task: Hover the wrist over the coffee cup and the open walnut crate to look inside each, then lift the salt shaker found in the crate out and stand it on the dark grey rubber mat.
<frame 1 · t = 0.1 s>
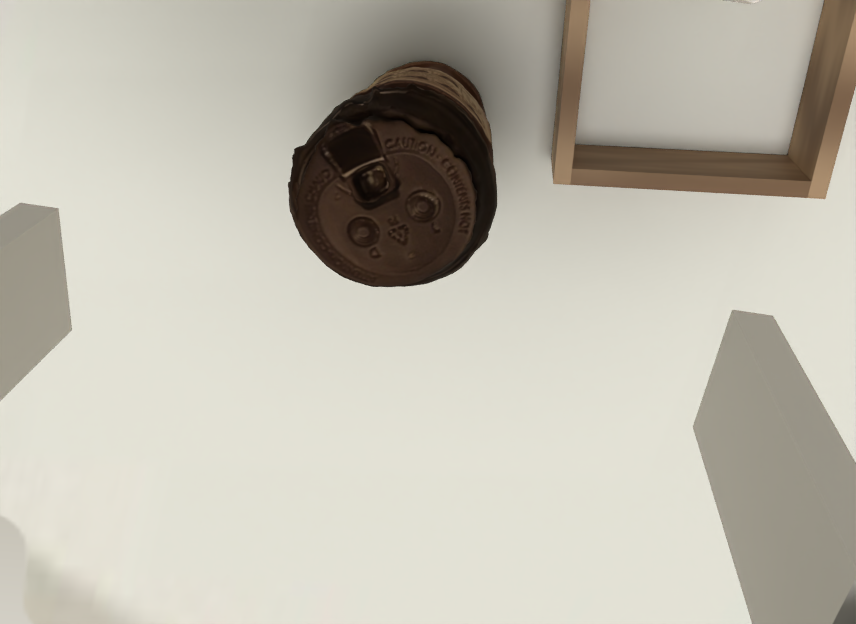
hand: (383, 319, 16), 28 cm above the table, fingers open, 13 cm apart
coffee cup: (425, 116, 42), on the table
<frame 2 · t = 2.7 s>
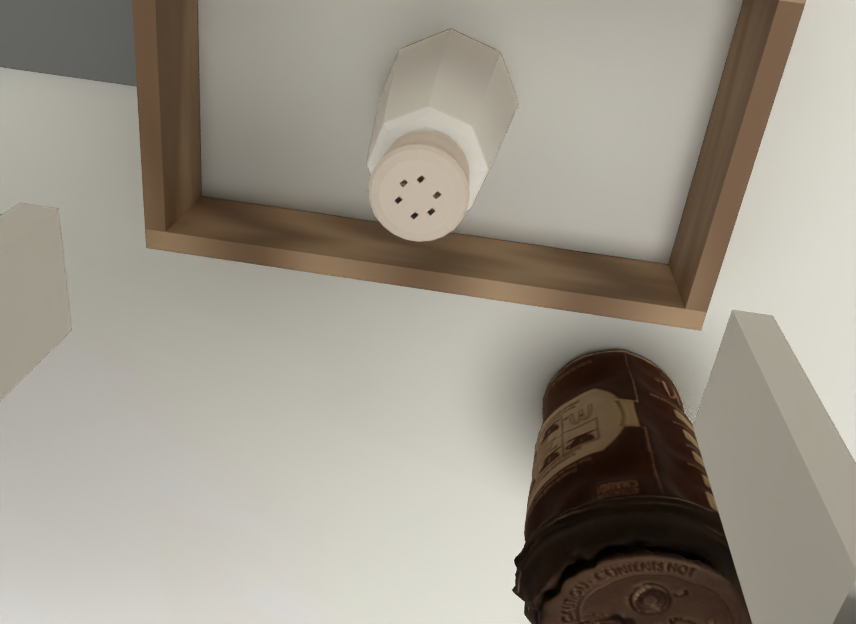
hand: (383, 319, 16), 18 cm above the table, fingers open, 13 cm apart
salt shaker: (449, 99, 32), resting in crate
coffee cup: (605, 404, 38), on the table
crate: (448, 100, 32), on the table
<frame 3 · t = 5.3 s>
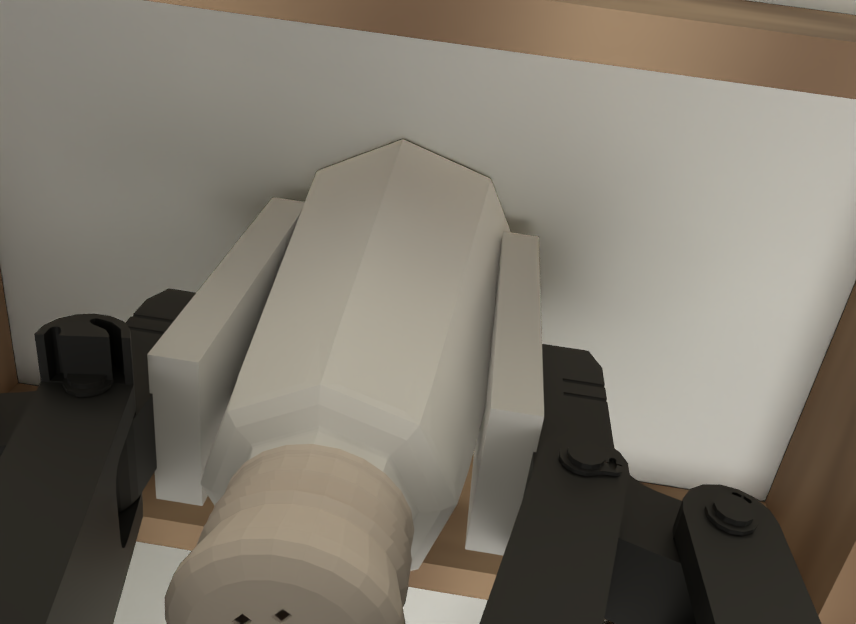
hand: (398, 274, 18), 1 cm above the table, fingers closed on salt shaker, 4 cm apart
salt shaker: (405, 248, 19), resting in crate, touching gripper
crate: (405, 252, 19), on the table
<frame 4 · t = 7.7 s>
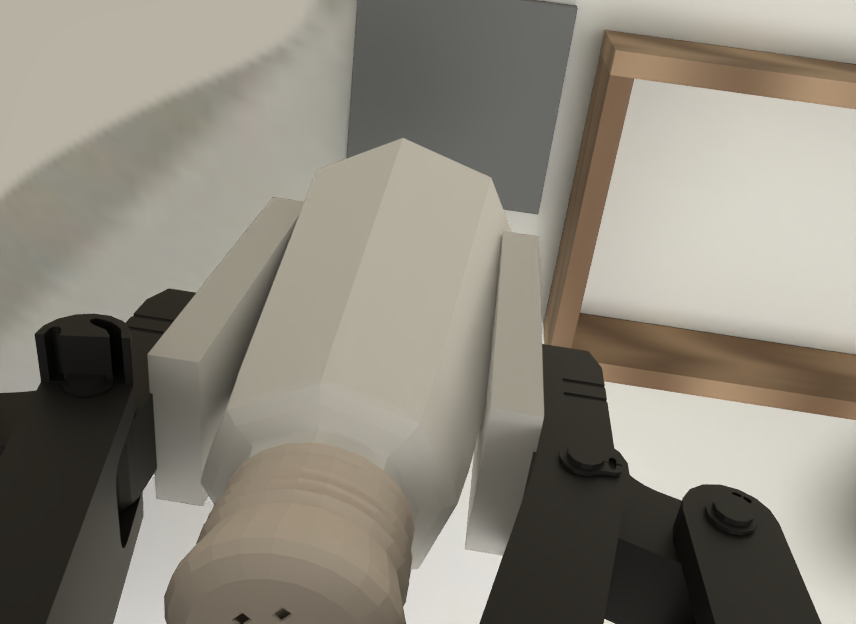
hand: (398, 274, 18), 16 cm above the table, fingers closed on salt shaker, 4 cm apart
salt shaker: (405, 247, 19), point 15 cm above the table, touching gripper
crate: (838, 229, 33), on the table
mat: (454, 99, 32), on the table
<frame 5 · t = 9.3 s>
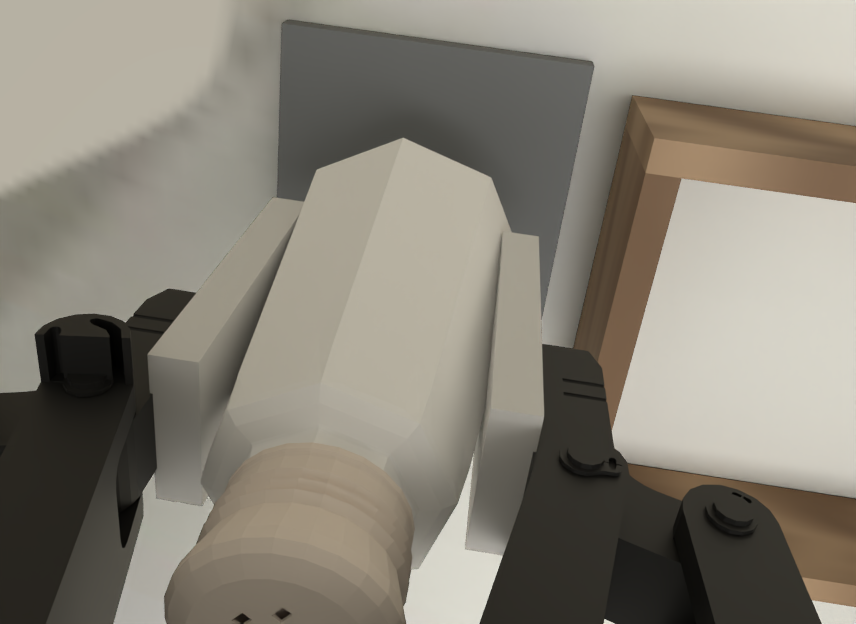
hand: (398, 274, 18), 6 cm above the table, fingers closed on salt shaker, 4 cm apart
salt shaker: (405, 247, 19), point 5 cm above the table, touching gripper
mat: (422, 186, 23), on the table
when the fingers open (3 cm above the table, at t = 10.5 s): salt shaker drops 1 cm, resting on mat.
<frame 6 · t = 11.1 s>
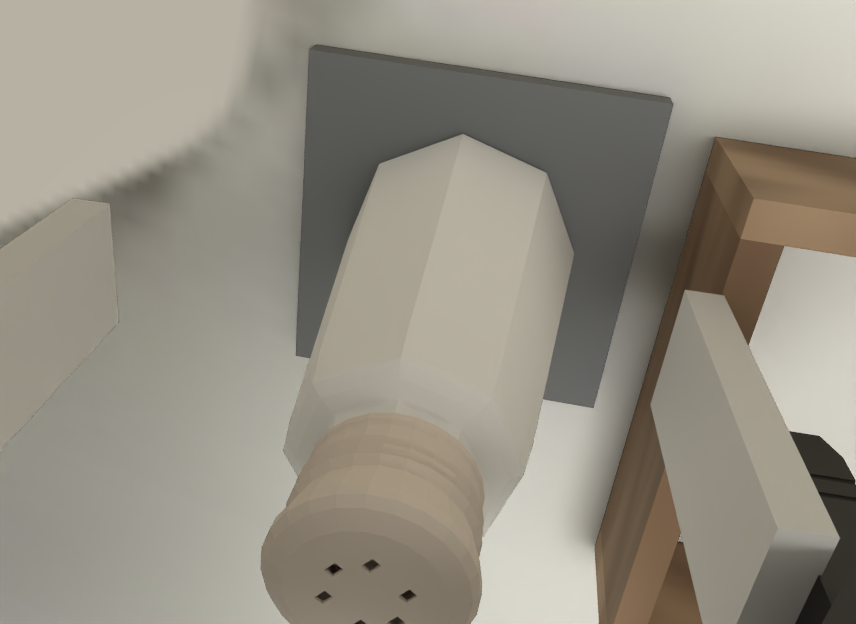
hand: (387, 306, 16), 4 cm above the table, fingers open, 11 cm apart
salt shaker: (461, 239, 20), resting on mat
mat: (465, 234, 20), on the table
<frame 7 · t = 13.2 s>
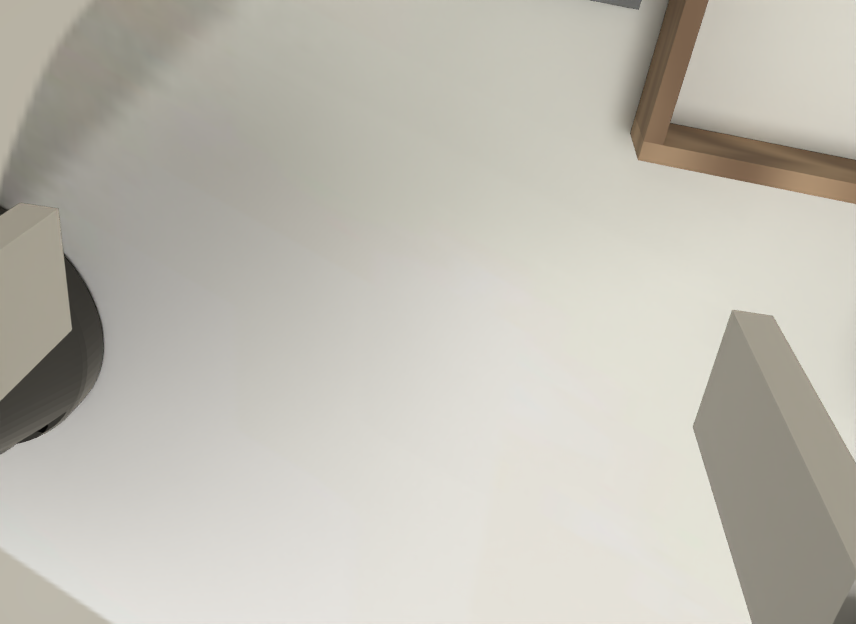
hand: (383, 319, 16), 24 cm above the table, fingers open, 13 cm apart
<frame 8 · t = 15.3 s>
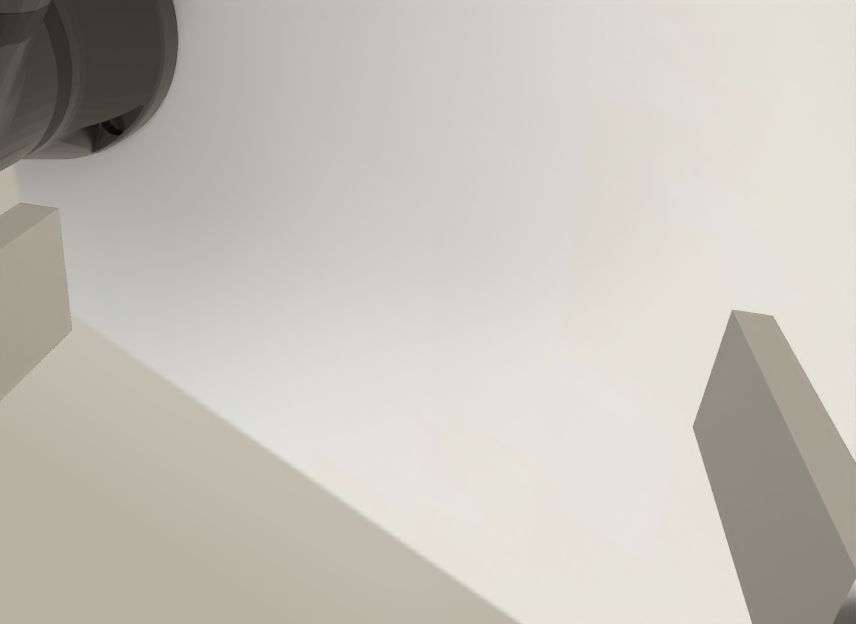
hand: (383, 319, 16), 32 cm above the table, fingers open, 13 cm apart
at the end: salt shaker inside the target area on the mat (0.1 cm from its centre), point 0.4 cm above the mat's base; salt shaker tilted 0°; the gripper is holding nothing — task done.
